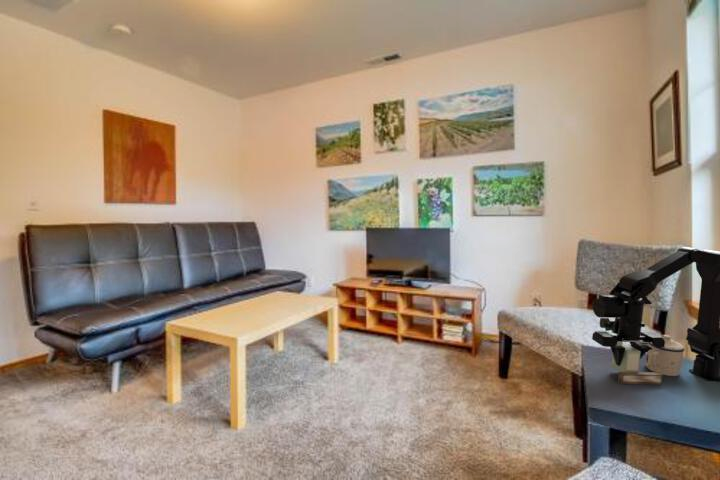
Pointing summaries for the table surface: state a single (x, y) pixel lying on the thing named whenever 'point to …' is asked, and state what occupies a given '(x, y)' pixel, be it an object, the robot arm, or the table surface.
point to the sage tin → (628, 360)
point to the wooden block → (639, 378)
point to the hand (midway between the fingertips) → (624, 365)
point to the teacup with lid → (665, 357)
